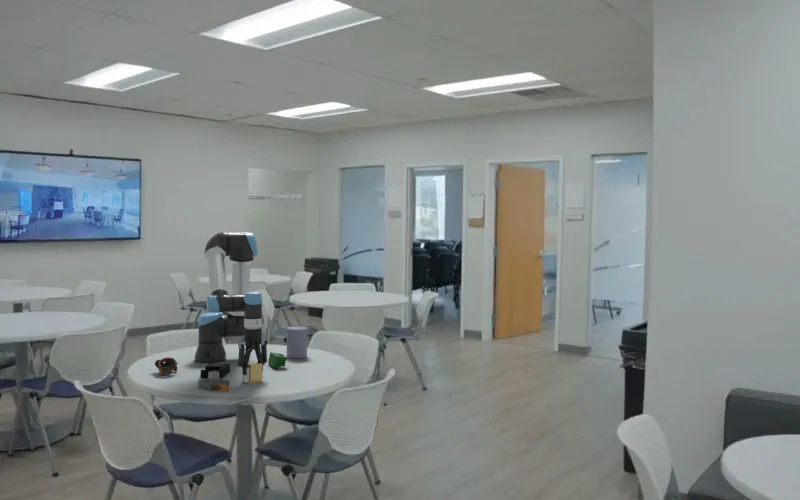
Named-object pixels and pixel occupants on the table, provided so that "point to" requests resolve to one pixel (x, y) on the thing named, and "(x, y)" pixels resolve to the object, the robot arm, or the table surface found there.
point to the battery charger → (221, 368)
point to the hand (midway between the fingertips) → (252, 380)
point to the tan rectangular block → (254, 372)
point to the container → (296, 342)
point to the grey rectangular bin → (214, 382)
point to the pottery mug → (166, 365)
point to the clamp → (277, 360)
